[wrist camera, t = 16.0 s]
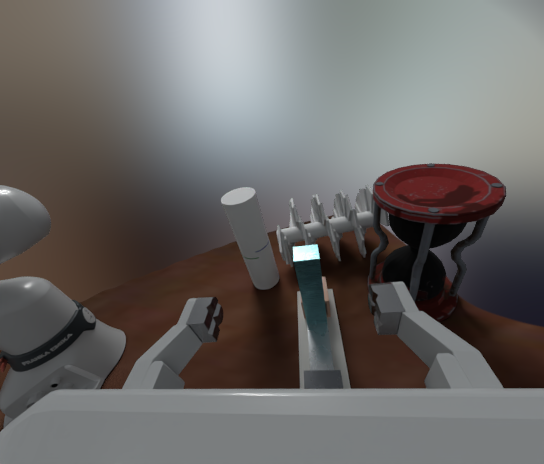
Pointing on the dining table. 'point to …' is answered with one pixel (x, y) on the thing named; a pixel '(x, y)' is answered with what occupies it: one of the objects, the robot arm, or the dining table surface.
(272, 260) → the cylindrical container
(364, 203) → the spiral staircase
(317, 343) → the teal oblong box
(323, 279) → the salmon pink block
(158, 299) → the dining table surface
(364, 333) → the dining table surface
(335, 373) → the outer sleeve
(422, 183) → the hourglass
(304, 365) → the base board
